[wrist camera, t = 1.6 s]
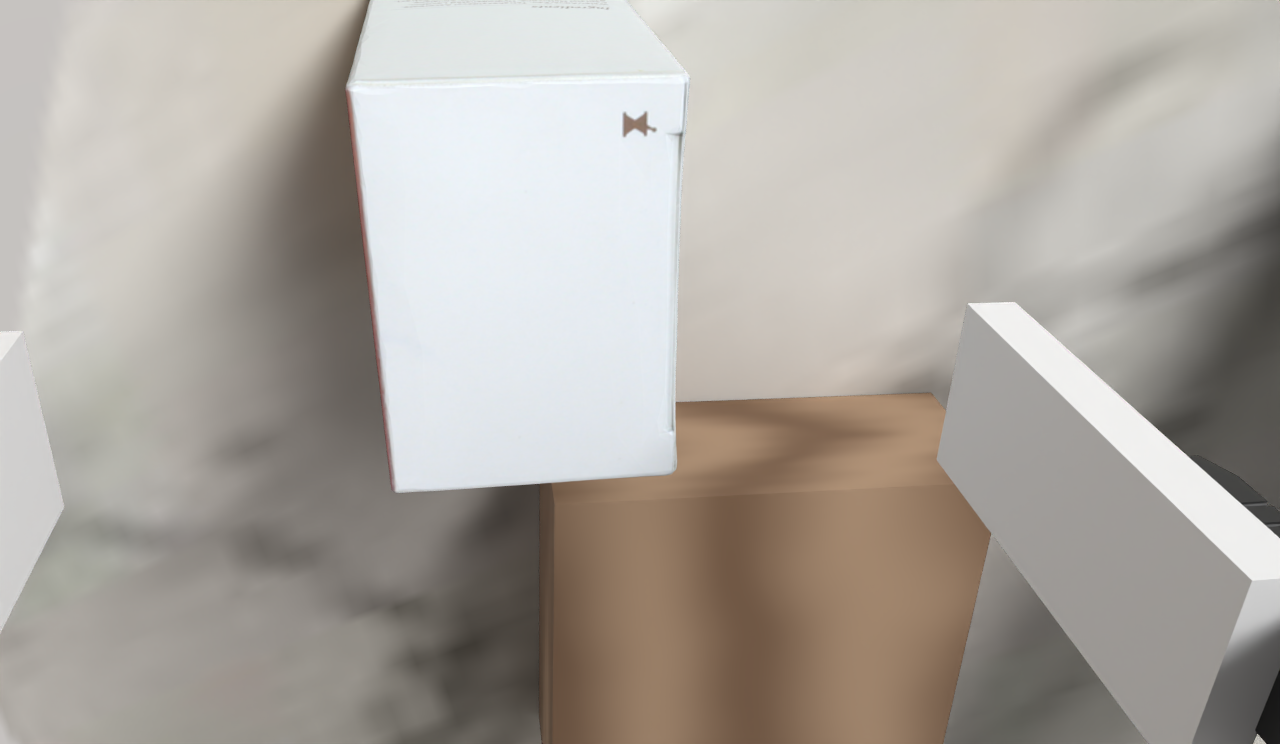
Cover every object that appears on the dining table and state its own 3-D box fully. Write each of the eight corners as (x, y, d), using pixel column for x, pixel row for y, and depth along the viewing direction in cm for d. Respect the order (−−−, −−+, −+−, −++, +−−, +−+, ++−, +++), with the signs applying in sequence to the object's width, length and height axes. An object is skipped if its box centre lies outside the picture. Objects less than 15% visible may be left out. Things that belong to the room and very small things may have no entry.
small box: (374, -30, 26) (336, 69, 17) (609, -31, 27) (695, 63, 18) (402, 284, 30) (384, 505, 21) (608, 275, 31) (679, 483, 22)
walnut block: (931, 392, 34) (1002, 481, 30) (876, 688, 40) (930, 800, 35) (539, 407, 32) (554, 504, 28) (538, 716, 38) (551, 837, 33)
